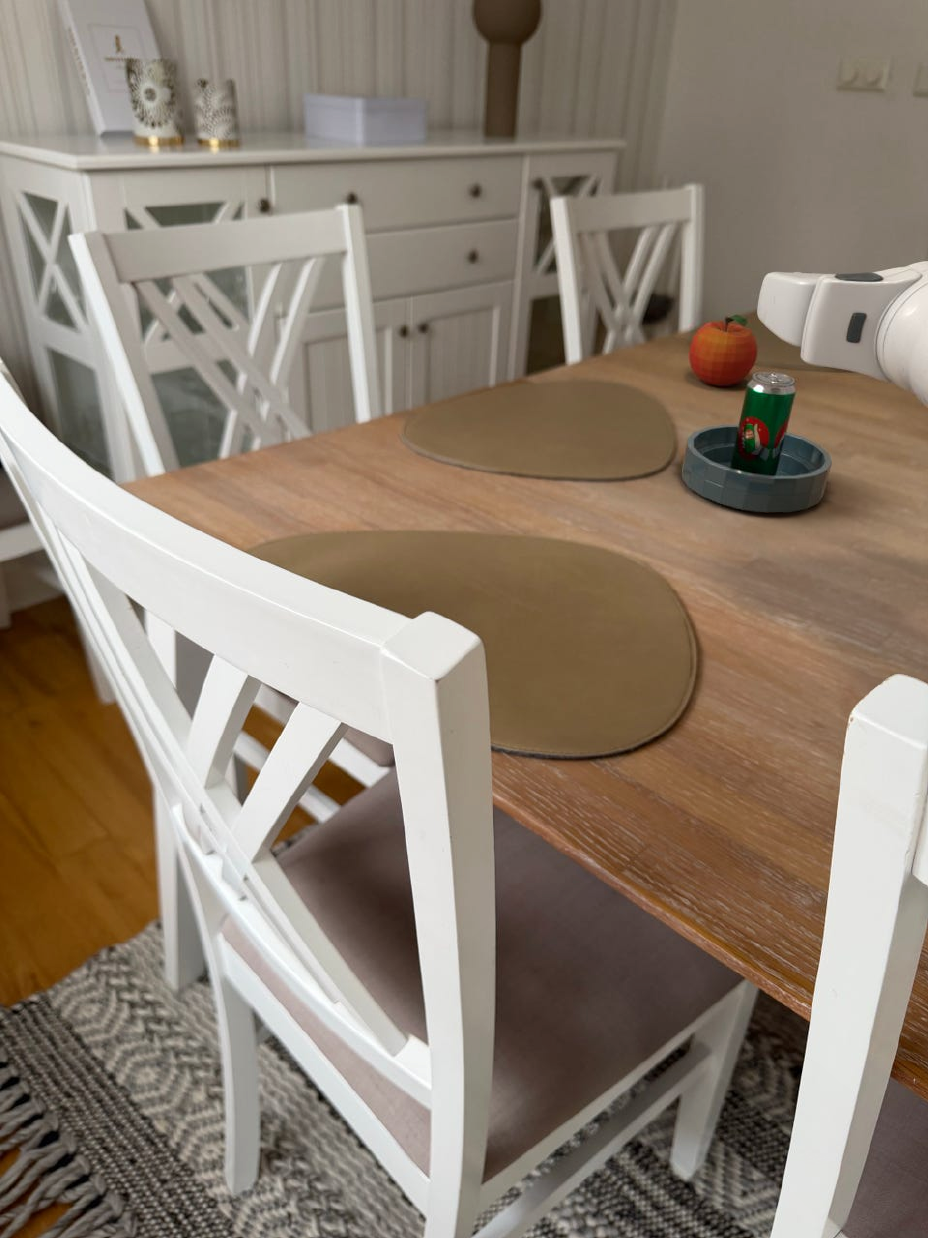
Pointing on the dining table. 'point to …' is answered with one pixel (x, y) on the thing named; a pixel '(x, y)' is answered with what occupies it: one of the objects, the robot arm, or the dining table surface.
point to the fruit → (723, 352)
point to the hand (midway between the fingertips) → (851, 283)
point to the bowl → (784, 492)
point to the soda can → (763, 423)
